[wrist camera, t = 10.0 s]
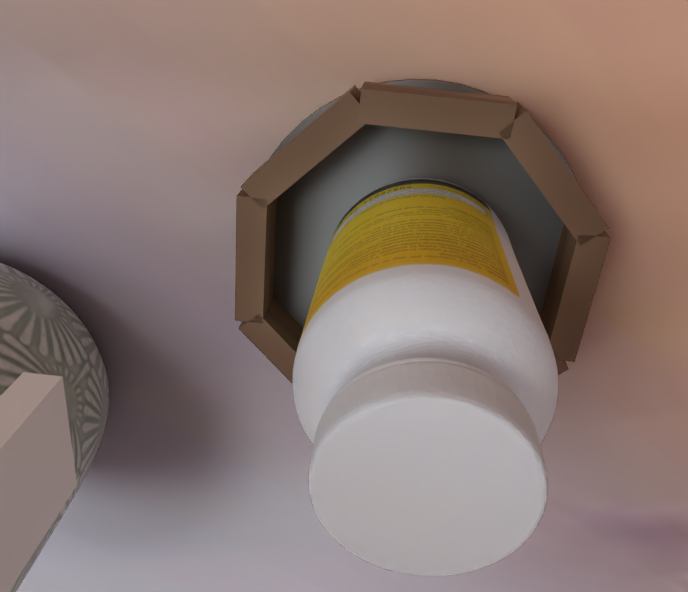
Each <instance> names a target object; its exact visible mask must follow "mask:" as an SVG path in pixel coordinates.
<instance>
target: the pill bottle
mask: <svg viewBox="0 0 688 592" xmlns="http://www.w3.org/2000/svg"><path fill="white" fill-rule="evenodd" d="M292 386H293V397H294V402H295V407H296V410H297V414H298V417H299V420H300V422H301V425H302V427H303V429H304V431H305V433H306V435H307V436H308V438H309V440H310V441H311V443H312V444H313V450H312V456H311V462H310V468H309V491H310V498H311V501H312V505H313V507H314V510H315V512H316V514H317V516H318V518H319V520H320V522H321V523H322V525H323V526H324V528H325V529H326V530H327V532H328V533H329V534H330V535H331V536H332V537H333V538H334V539H335V540H336V541H337V542H338V543H339V544H340V545H341V546H343V547H344V548H345V549H347V550H348V551H349V552H351V553H352V554H354V555H356V556H357V557H359V558H361V559H363V560H364V561H366V562H369V563H371V564H373V565H375V566H378V567H381V568H384V569H386V570H390V571H394V572H399V573H404V574H409V575H417V576H450V575H457V574H463V573H467V572H471V571H475V570H478V569H481V568H483V567H486V566H489V565H492V564H494V563H496V562H498V561H499V560H501V559H503V558H505V557H506V556H508V555H509V554H511V553H513V552H514V551H515V550H516V549H517V548H519V547H520V546H521V545H522V544H523V543H524V542H525V541H526V540H527V539H528V538H529V537H530V535H531V534H532V533H533V531H534V530H535V529H536V527H537V525H538V523H539V521H540V519H541V517H542V515H543V512H544V509H545V505H546V500H547V494H548V479H547V474H546V468H545V464H544V459H543V455H542V450H541V445H540V444H541V442H542V440H543V439H544V437H545V435H546V433H547V431H548V429H549V427H550V424H551V422H552V419H553V417H554V413H555V409H556V404H557V397H558V371H557V365H556V360H555V356H554V352H553V349H552V346H551V343H550V340H549V337H548V335H547V333H546V330H545V328H544V326H543V323H542V321H541V318H540V316H539V314H538V311H537V309H536V306H535V304H534V301H533V299H532V296H531V294H530V292H529V289H528V287H527V284H526V282H525V279H524V277H523V274H522V272H521V269H520V267H519V264H518V262H517V259H516V256H515V254H514V251H513V248H512V245H511V242H510V239H509V236H508V234H507V232H506V230H505V228H504V227H503V225H502V223H501V221H500V220H499V218H498V217H497V215H496V214H495V213H494V211H493V210H492V209H491V208H490V207H489V206H488V205H487V204H486V203H485V202H484V201H483V200H482V199H480V198H479V197H478V196H476V195H475V194H473V193H472V192H470V191H468V190H467V189H465V188H463V187H461V186H458V185H456V184H453V183H450V182H447V181H443V180H438V179H431V178H411V179H404V180H399V181H395V182H392V183H389V184H386V185H383V186H381V187H379V188H377V189H375V190H373V191H371V192H369V193H368V194H366V195H365V196H364V197H362V198H361V199H360V200H359V201H357V202H356V203H355V204H354V205H353V206H352V207H351V208H350V209H349V210H348V212H347V213H346V214H345V215H344V217H343V218H342V220H341V221H340V223H339V224H338V226H337V228H336V230H335V232H334V234H333V237H332V239H331V242H330V245H329V248H328V251H327V254H326V257H325V261H324V264H323V267H322V270H321V273H320V276H319V280H318V283H317V286H316V290H315V293H314V296H313V299H312V302H311V305H310V309H309V312H308V315H307V319H306V322H305V325H304V329H303V332H302V335H301V338H300V341H299V344H298V348H297V352H296V356H295V360H294V366H293V380H292Z"/></svg>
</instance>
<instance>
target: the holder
mask: <svg viewBox="0 0 688 592" xmlns="http://www.w3.org/2000/svg"><path fill="white" fill-rule="evenodd" d="M411 178H431V179H438V180H443V181H447V182H450V183H453V184H456V185H458V186H461V187H463V188H465V189H467V190H468V191H470V192H472V193H473V194H475V195H476V196H478V197H479V198H480V199H482V200H483V201H484V202H485V203H486V204H487V205H488V206H489V207H490V208H491V209H492V210H493V211H494V213H495V214H496V215H497V217H498V218H499V220H500V221H501V223H502V225H503V227H504V228H505V230H506V232H507V234H508V236H509V239H510V242H511V245H512V248H513V251H514V254H515V256H516V259H517V262H518V264H519V267H520V269H521V272H522V274H523V277H524V279H525V282H526V284H527V287H528V289H529V292H530V294H531V296H532V299H533V301H534V304H535V306H536V309H537V311H538V314H539V316H540V318H541V321H542V323H543V326H544V328H545V330H546V333H547V335H548V337H549V340H550V343H551V346H552V349H553V352H554V356H555V360H556V365H557V371H558V375H559V374H561V373H562V372H564V371H566V370H568V367H567V365H566V362H565V361H572V362H575V358H576V355H577V351H578V348H579V344H580V341H581V338H582V334H583V331H584V327H585V324H586V320H587V317H588V313H589V310H590V307H591V303H592V300H593V296H594V293H595V289H596V286H597V283H598V279H599V276H600V272H601V269H602V265H603V262H604V258H605V255H606V252H607V248H608V245H609V241H610V237H609V236H608V234H607V233H606V232H605V230H607V229H608V228H609V227H608V226H607V224H606V223H605V221H604V220H603V219H602V217H601V216H600V214H599V213H598V211H597V210H596V209H595V207H594V206H593V204H592V203H591V201H590V200H589V199H588V197H587V196H586V194H585V193H584V191H583V190H582V189H581V187H580V186H579V184H578V183H577V181H576V178H575V176H574V174H573V172H572V170H571V168H570V167H569V165H568V163H567V162H566V160H565V158H564V157H563V155H562V153H561V152H560V151H559V150H558V149H557V147H556V146H555V145H554V144H553V142H552V141H551V140H550V139H549V137H548V136H547V135H546V134H545V133H544V132H543V131H542V130H541V129H539V127H538V126H537V124H536V123H535V121H534V120H533V119H532V117H531V116H530V114H529V113H528V111H527V110H526V109H525V108H524V107H522V106H521V105H520V104H519V103H518V102H516V103H514V102H513V101H512V100H511V99H510V98H509V97H508V96H498V95H490V94H488V93H486V92H484V91H481V90H478V89H475V88H471V87H468V86H465V85H462V84H458V83H452V82H446V81H440V80H428V79H406V80H396V81H387V82H383V83H372V82H365V83H364V84H363V86H362V88H360V89H358V88H357V87H356V86H355V85H354V86H353V87H352V88H351V89H350V90H348V91H347V92H346V93H345V94H344V95H342V96H340V97H338V98H337V99H335V100H333V101H331V102H330V103H328V104H326V105H324V106H322V107H321V108H319V109H318V110H317V111H315V112H314V113H313V114H311V115H310V116H309V117H307V118H306V119H305V120H303V121H302V122H301V123H300V124H299V125H298V126H297V127H296V128H295V129H294V130H293V131H292V132H291V133H290V134H289V135H288V136H287V137H286V138H285V139H284V140H283V141H282V143H281V144H280V145H279V147H278V148H277V149H276V151H275V152H274V153H273V155H272V156H271V157H270V159H269V160H268V161H266V162H265V163H264V164H263V165H262V166H261V167H259V168H258V169H257V170H256V171H255V172H254V173H253V174H252V175H251V176H250V177H249V178H248V179H247V180H246V182H245V183H244V184H243V185H242V186H241V187H242V190H241V191H240V193H239V194H238V195H237V212H236V290H235V320H236V321H242V323H241V325H240V327H239V330H240V331H241V332H242V333H243V334H244V335H245V336H246V337H247V338H248V339H249V340H250V341H251V342H252V343H253V344H254V345H255V346H256V347H257V348H258V349H259V350H260V351H261V352H262V353H263V354H264V355H265V356H266V357H267V358H268V359H269V360H270V361H271V362H272V363H273V364H274V365H275V366H276V367H277V368H278V369H279V371H280V372H281V373H282V374H283V375H284V376H285V377H286V378H287V379H288V380H289V381H290V382H291V383H292V380H293V366H294V360H295V356H296V352H297V348H298V344H299V341H300V338H301V335H302V332H303V329H304V325H305V322H306V319H307V315H308V312H309V309H310V305H311V302H312V299H313V296H314V293H315V290H316V286H317V283H318V280H319V276H320V273H321V270H322V267H323V264H324V261H325V257H326V254H327V251H328V248H329V245H330V242H331V239H332V237H333V234H334V232H335V230H336V228H337V226H338V224H339V223H340V221H341V220H342V218H343V217H344V215H345V214H346V213H347V212H348V210H349V209H350V208H351V207H352V206H353V205H354V204H355V203H356V202H357V201H359V200H360V199H361V198H362V197H364V196H365V195H366V194H368V193H369V192H371V191H373V190H375V189H377V188H379V187H381V186H383V185H386V184H389V183H392V182H395V181H399V180H404V179H411Z"/></svg>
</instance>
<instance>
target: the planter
mask: <svg viewBox="0 0 688 592" xmlns="http://www.w3.org/2000/svg"><path fill="white" fill-rule="evenodd" d="M23 372H27V373H36V374H45V375H54V376H62V377H63V383H64V391H65V398H66V406H67V413H68V421H69V428H70V435H71V443H72V450H73V458H74V465H75V473H76V480H77V486H76V487H75V489H74V491H73V492H72V494H71V495H70V497H69V498H68V500H67V501H66V503H65V505H64V506H63V508H62V509H61V511H60V512H59V514H58V516H57V517H56V519H55V520H54V522H53V523H52V525H51V526H50V528H49V530H48V531H47V533H46V534H45V536H44V537H43V539H42V541H41V542H40V544H39V545H38V547H37V548H36V550H35V551H34V553H33V555H32V556H31V558H30V559H29V561H28V562H27V564H26V565H25V567H24V569H23V570H22V572H21V573H20V575H19V576H18V578H17V580H16V581H15V583H14V584H13V586H12V587H11V589H10V590H9V592H16V591H17V589H18V588H19V586H20V585H21V583H22V581H23V580H24V578H25V576H26V575H27V573H28V572H29V570H30V568H31V567H32V565H33V563H34V562H35V560H36V559H37V557H38V555H39V554H40V552H41V550H42V549H43V547H44V545H45V544H46V542H47V541H48V539H49V537H50V536H51V534H52V532H53V531H54V529H55V527H56V526H57V524H58V523H59V521H60V519H61V518H62V516H63V514H64V513H65V511H66V509H67V507H68V506H69V504H70V502H71V500H72V499H73V497H74V495H75V493H76V492H77V490H78V488H79V486H80V485H81V483H82V481H83V479H84V477H85V475H86V473H87V471H88V469H89V467H90V465H91V463H92V461H93V459H94V456H95V454H96V452H97V450H98V447H99V445H100V443H101V440H102V437H103V433H104V430H105V426H106V422H107V417H108V410H109V386H108V379H107V374H106V370H105V366H104V363H103V361H102V358H101V355H100V353H99V350H98V348H97V346H96V344H95V342H94V340H93V338H92V337H91V335H90V333H89V332H88V330H87V329H86V327H85V326H84V324H83V323H82V322H81V320H80V319H79V318H78V317H77V315H76V314H75V313H74V312H73V311H72V310H71V309H70V307H69V306H67V305H66V304H65V303H64V302H63V301H62V300H61V299H60V298H59V297H58V296H57V295H55V294H54V293H53V292H52V291H51V290H49V289H48V288H47V287H45V286H44V285H42V284H41V283H39V282H38V281H37V280H35V279H33V278H31V277H30V276H28V275H26V274H25V273H23V272H21V271H18V270H16V269H14V268H12V267H10V266H8V265H5V264H2V263H0V396H1V395H2V394H3V393H4V392H5V391H6V390H7V389H8V388H9V387H10V386H11V385H12V384H13V383H14V382H15V381H16V380H17V378H18V377H19V376H20V375H21V374H22V373H23Z"/></svg>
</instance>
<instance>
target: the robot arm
mask: <svg viewBox="0 0 688 592" xmlns="http://www.w3.org/2000/svg"><path fill="white" fill-rule="evenodd" d="M76 486H77V480H76V473H75V465H74V458H73V450H72V443H71V435H70V428H69V421H68V413H67V406H66V398H65V391H64V383H63V377H62V376H54V375H45V374H36V373H27V372H23V373H22V374H21V375H20V376H19V377H18V378H17V380H16V381H15V382H14V383H13V384H12V385H11V386H10V387H9V388H8V389H7V390H6V391H5V392H4V393H3V394H2V395H1V396H0V592H9V590H10V589H11V587H12V586H13V584H14V583H15V581H16V580H17V578H18V576H19V575H20V573H21V572H22V570H23V569H24V567H25V565H26V564H27V562H28V561H29V559H30V558H31V556H32V555H33V553H34V551H35V550H36V548H37V547H38V545H39V544H40V542H41V541H42V539H43V537H44V536H45V534H46V533H47V531H48V530H49V528H50V526H51V525H52V523H53V522H54V520H55V519H56V517H57V516H58V514H59V512H60V511H61V509H62V508H63V506H64V505H65V503H66V501H67V500H68V498H69V497H70V495H71V494H72V492H73V491H74V489H75V487H76Z"/></svg>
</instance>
